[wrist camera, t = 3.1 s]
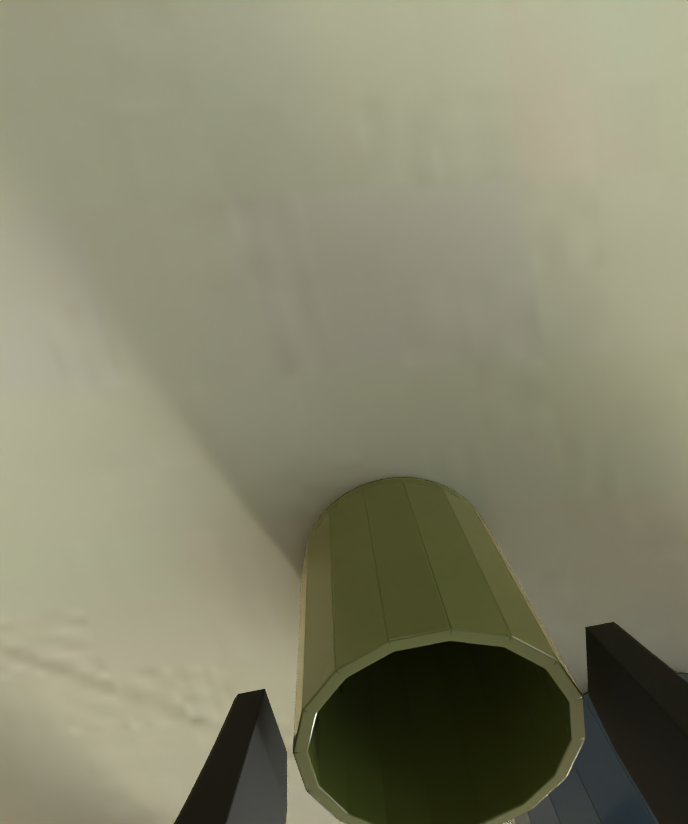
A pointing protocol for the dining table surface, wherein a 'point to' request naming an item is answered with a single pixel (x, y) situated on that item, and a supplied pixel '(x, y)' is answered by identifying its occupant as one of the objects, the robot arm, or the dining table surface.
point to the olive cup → (424, 667)
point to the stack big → (593, 786)
